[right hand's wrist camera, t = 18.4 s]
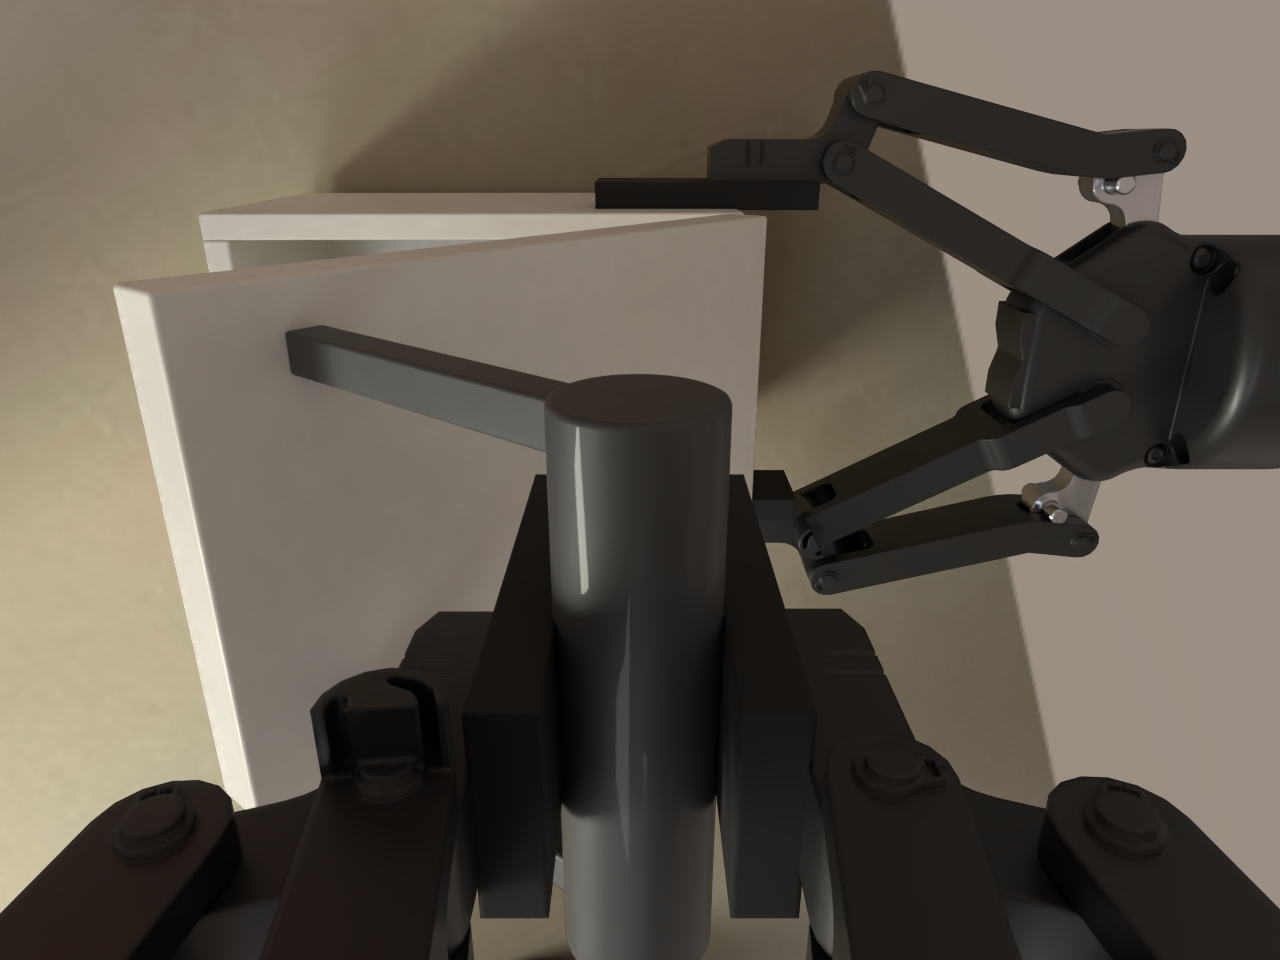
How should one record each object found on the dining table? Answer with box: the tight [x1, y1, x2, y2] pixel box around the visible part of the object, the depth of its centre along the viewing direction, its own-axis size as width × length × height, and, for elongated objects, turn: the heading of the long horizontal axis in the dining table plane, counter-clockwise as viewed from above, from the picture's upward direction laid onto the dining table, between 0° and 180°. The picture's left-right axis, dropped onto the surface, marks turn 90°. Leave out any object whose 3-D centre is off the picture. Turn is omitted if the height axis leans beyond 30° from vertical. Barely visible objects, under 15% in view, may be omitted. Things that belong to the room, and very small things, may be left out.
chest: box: [199, 193, 744, 273], centre depth 30 cm, size 15×9×9 cm, turn 90°
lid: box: [114, 214, 767, 960], centre depth 17 cm, size 16×9×9 cm
